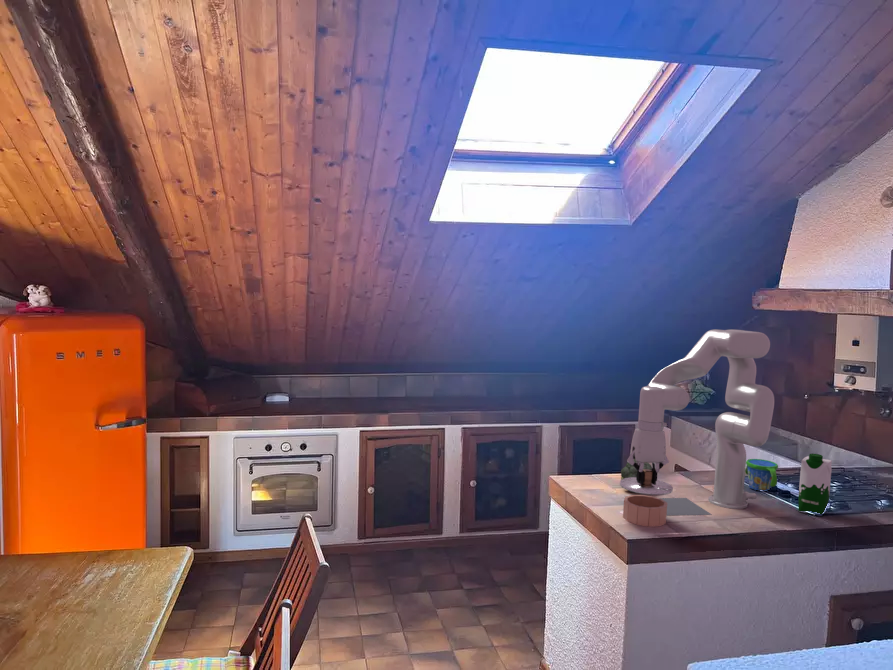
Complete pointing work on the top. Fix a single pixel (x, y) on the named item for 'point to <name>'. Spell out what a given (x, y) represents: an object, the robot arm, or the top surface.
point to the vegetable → (632, 471)
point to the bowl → (645, 510)
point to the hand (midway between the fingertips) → (646, 482)
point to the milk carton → (814, 483)
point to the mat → (683, 507)
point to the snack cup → (761, 474)
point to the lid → (646, 485)
